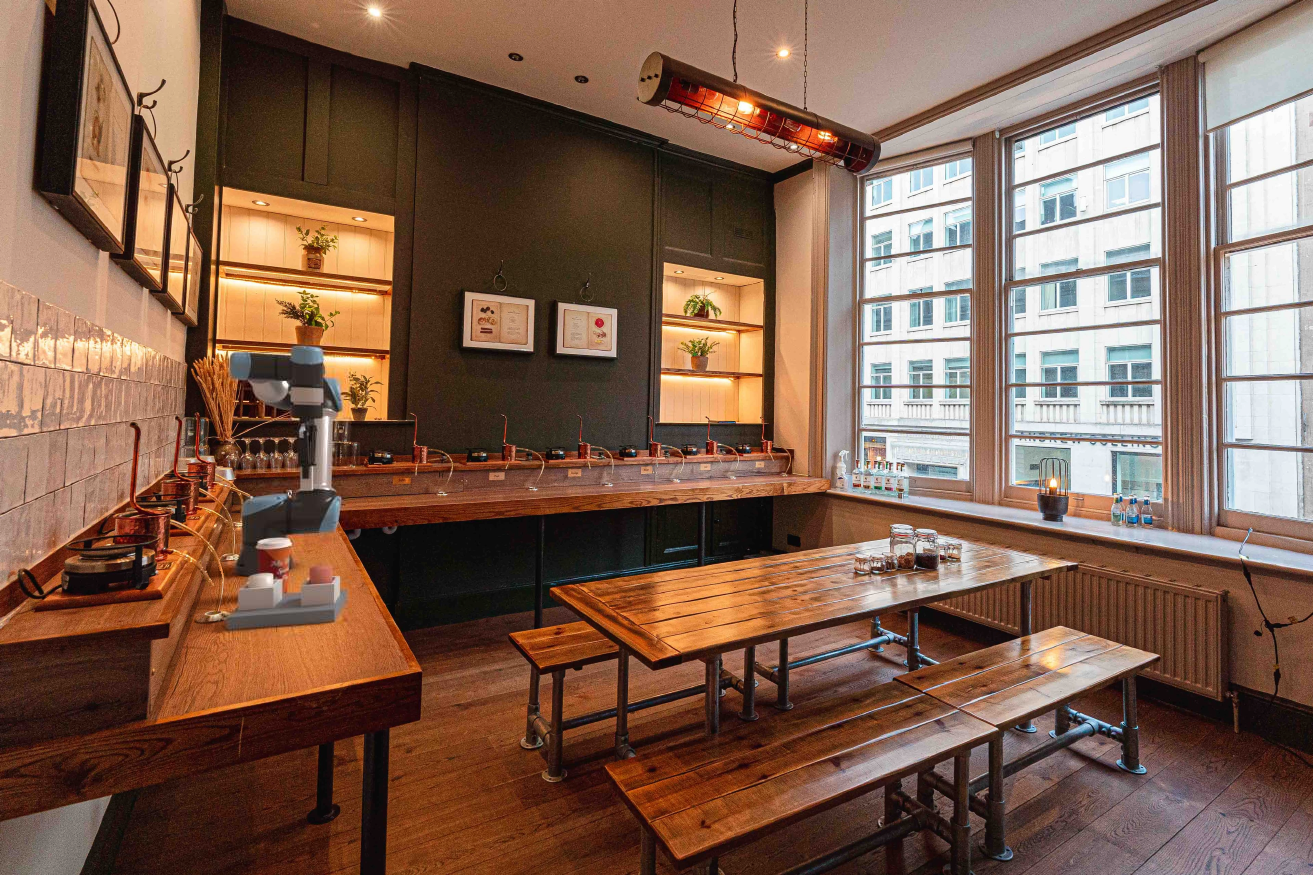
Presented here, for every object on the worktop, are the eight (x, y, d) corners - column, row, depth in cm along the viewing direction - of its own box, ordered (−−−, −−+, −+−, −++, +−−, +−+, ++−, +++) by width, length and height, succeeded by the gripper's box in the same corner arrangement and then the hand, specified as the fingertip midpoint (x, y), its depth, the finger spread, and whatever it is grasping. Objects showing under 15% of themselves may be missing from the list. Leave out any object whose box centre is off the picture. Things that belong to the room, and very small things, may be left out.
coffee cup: (278, 599, 153) (278, 544, 152) (248, 598, 153) (248, 543, 152) (298, 590, 161) (298, 537, 161) (269, 589, 161) (270, 536, 161)
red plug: (312, 592, 146) (312, 565, 146) (334, 591, 148) (334, 564, 148) (307, 599, 142) (307, 571, 141) (330, 597, 143) (330, 569, 143)
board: (250, 607, 147) (250, 576, 147) (346, 600, 154) (347, 571, 154) (226, 629, 132) (226, 595, 131) (334, 621, 139) (334, 588, 139)
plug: (252, 601, 142) (252, 573, 142) (275, 599, 144) (275, 572, 144) (245, 608, 138) (245, 579, 137) (269, 606, 139) (269, 578, 139)
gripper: (297, 403, 160) (297, 486, 161) (284, 403, 148) (284, 494, 149) (327, 404, 163) (327, 486, 164) (317, 404, 150) (316, 493, 152)
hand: (306, 490), depth 157 cm, fingers closed
